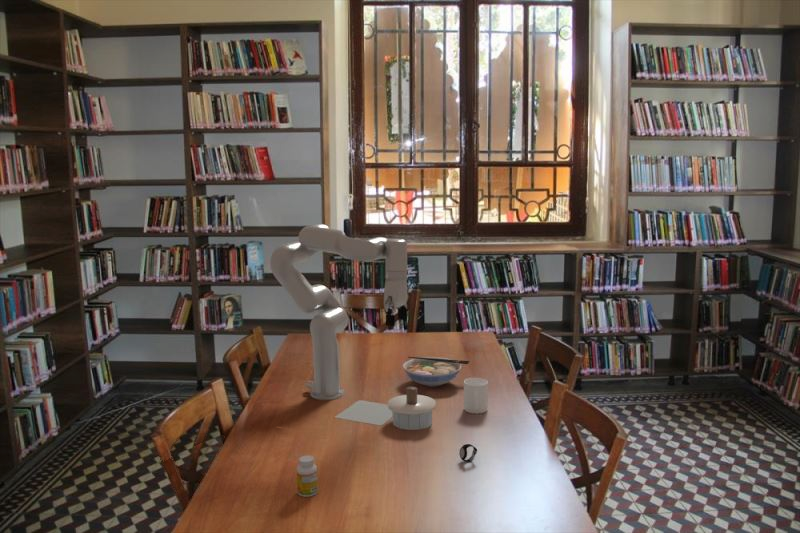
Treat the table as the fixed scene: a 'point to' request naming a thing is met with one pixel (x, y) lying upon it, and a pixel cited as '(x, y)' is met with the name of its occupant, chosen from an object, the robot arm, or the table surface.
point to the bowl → (412, 421)
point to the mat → (367, 413)
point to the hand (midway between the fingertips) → (396, 322)
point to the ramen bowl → (432, 370)
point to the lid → (411, 403)
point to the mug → (475, 395)
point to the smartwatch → (464, 452)
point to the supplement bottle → (307, 477)
